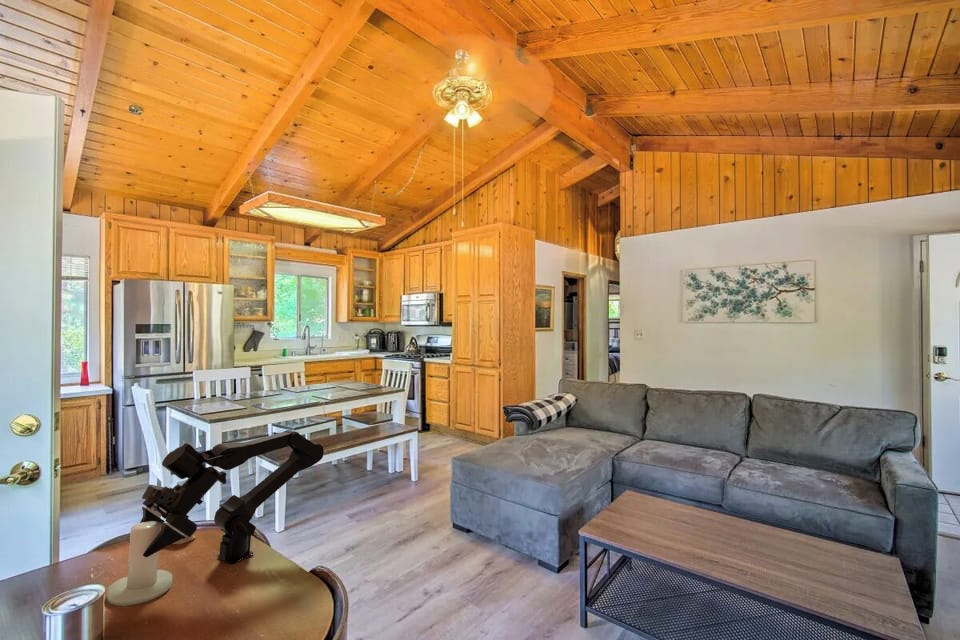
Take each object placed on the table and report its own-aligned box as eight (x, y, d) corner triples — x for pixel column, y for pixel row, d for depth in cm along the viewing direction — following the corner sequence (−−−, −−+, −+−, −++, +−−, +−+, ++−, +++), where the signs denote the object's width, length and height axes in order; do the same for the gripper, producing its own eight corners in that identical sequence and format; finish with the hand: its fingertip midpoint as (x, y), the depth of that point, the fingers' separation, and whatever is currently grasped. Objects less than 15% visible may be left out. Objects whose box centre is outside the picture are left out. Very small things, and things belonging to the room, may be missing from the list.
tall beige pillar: (141, 575, 107) (145, 520, 107) (162, 577, 106) (166, 522, 106) (119, 588, 101) (124, 530, 101) (142, 591, 100) (147, 532, 101)
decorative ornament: (189, 544, 126) (191, 525, 126) (157, 545, 124) (158, 525, 125) (196, 537, 130) (197, 519, 130) (164, 538, 128) (166, 519, 129)
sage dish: (155, 570, 111) (156, 564, 112) (182, 586, 106) (183, 579, 106) (96, 594, 101) (97, 587, 101) (122, 612, 95) (123, 605, 95)
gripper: (155, 462, 113) (95, 520, 104) (185, 480, 102) (121, 546, 93) (187, 486, 119) (134, 543, 110) (219, 505, 108) (163, 570, 99)
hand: (137, 549), depth 103 cm, fingers open, 9 cm apart
